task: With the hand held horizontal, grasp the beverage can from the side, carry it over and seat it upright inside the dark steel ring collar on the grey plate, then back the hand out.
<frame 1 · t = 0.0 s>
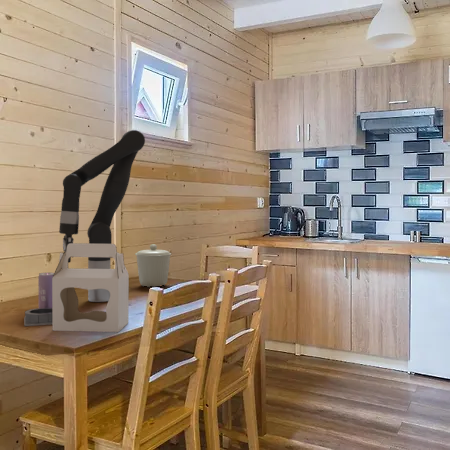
hand: (66, 261, 217), 17 cm above the table, tool pointing down, fingers open, 8 cm apart
canister: (153, 286, 264), on the table
gable box: (91, 327, 175), on the table
ring collar: (42, 321, 183), on the table
beverage can: (47, 313, 196), on the table
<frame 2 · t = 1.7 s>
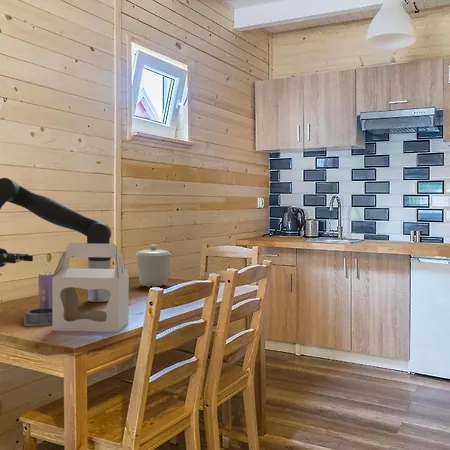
hand: (24, 259, 200), 20 cm above the table, tool horizontal, fingers open, 8 cm apart
nothing on the table moved.
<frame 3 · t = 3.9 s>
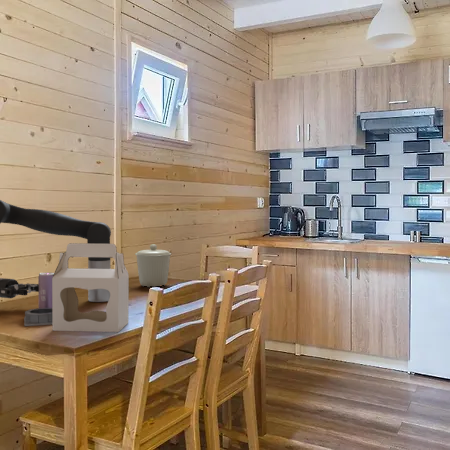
hand: (35, 290, 199), 8 cm above the table, tool horizontal, fingers open, 8 cm apart
nothing on the table moved.
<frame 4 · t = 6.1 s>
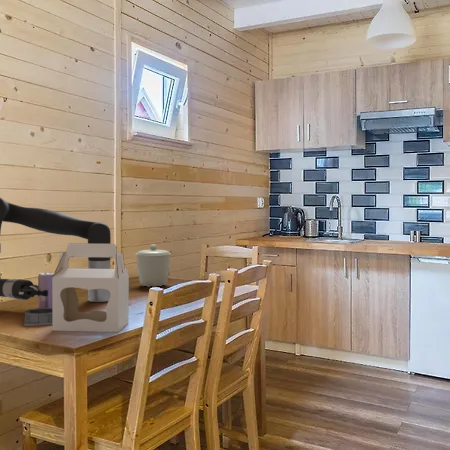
hand: (52, 292, 195), 8 cm above the table, tool horizontal, fingers closed on beverage can, 5 cm apart
beverage can: (47, 313, 196), on the table, touching gripper
everything else where it was.
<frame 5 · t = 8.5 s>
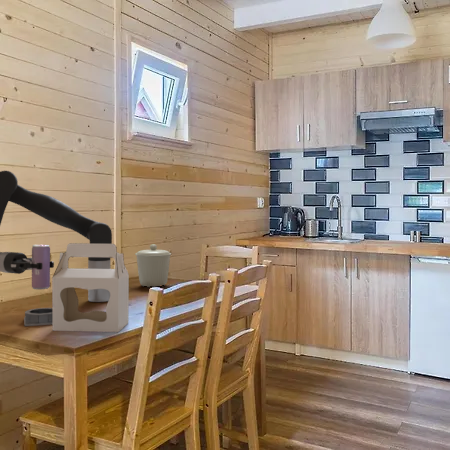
hand: (47, 265, 181), 20 cm above the table, tool horizontal, fingers closed on beverage can, 5 cm apart
beverage can: (40, 288, 182), point 11 cm above the table, touching gripper
everything else where it was.
when the fingers open (10 cm above the table, at t = 11.3 s): beverage can moves 2 cm, resting on ring collar.
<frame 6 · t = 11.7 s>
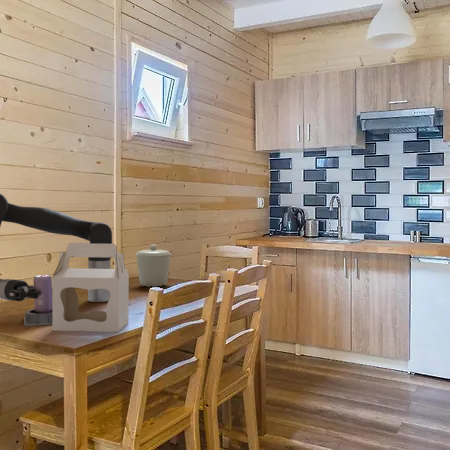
hand: (46, 293, 181), 10 cm above the table, tool horizontal, fingers open, 8 cm apart
beverage can: (44, 318, 184), point 1 cm above the table, touching gripper, ring collar
everything else where it was.
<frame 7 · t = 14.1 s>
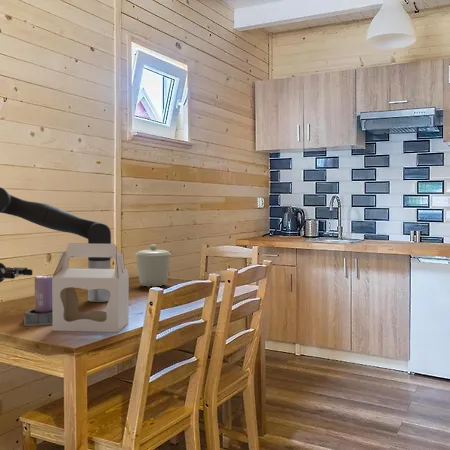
hand: (23, 273, 190), 15 cm above the table, tool horizontal, fingers open, 8 cm apart
beverage can: (44, 319, 184), resting on ring collar
everything else where it was.
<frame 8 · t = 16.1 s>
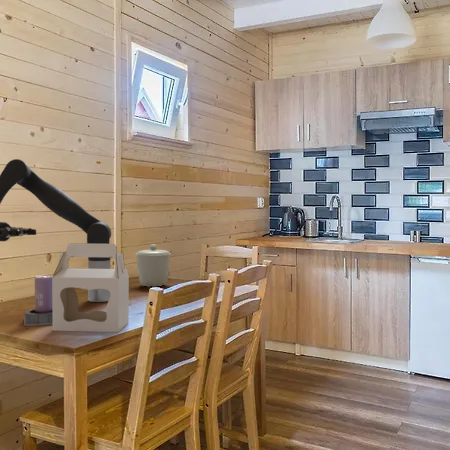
hand: (27, 232, 199), 30 cm above the table, tool horizontal, fingers open, 8 cm apart
nothing on the table moved.
at the end: beverage can 1.2 cm off-centre on the ring collar, point 0.4 cm above the ring collar's base; beverage can tilted 0°; the gripper is holding nothing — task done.
